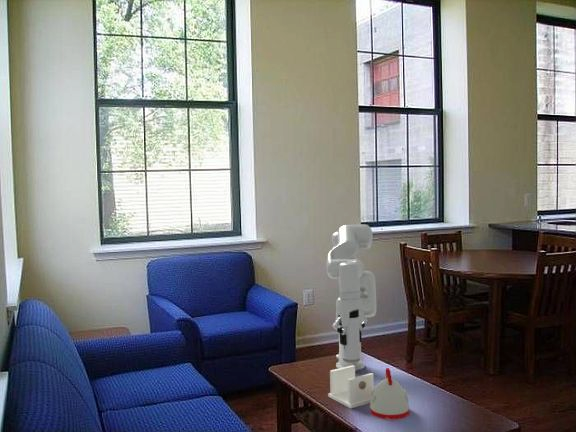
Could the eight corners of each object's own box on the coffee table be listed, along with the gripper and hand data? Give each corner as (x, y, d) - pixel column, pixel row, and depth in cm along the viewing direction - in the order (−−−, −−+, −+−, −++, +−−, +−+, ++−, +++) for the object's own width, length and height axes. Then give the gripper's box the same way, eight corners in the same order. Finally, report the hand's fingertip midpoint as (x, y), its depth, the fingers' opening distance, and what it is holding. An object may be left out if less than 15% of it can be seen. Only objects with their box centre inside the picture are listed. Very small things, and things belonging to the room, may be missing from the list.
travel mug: (359, 357, 216) (358, 305, 215) (360, 362, 210) (359, 309, 209) (343, 357, 217) (342, 305, 216) (343, 362, 210) (342, 309, 209)
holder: (328, 396, 217) (327, 370, 217) (353, 389, 223) (352, 364, 223) (350, 408, 205) (350, 380, 205) (376, 401, 211) (376, 374, 211)
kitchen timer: (405, 403, 209) (404, 363, 208) (413, 418, 195) (412, 376, 194) (367, 404, 209) (366, 364, 208) (372, 420, 195) (371, 377, 194)
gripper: (361, 291, 220) (362, 337, 221) (324, 296, 211) (326, 344, 212) (374, 294, 213) (375, 341, 214) (336, 300, 204) (337, 349, 205)
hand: (350, 342), depth 213 cm, fingers closed on travel mug, 6 cm apart
